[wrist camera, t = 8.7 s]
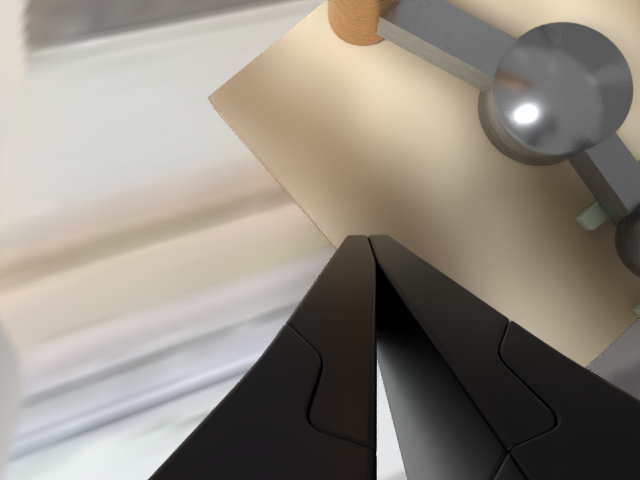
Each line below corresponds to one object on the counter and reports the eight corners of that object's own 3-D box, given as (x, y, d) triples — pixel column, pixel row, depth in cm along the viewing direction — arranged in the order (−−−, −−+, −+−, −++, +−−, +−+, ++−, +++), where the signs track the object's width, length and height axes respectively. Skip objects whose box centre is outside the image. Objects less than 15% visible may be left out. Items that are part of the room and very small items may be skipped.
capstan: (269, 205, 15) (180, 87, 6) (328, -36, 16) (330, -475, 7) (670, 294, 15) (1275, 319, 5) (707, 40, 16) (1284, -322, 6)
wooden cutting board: (501, 439, 15) (523, 459, 14) (214, 108, 17) (201, 89, 15) (793, 171, 16) (848, 158, 15) (495, -124, 18) (513, -167, 16)
